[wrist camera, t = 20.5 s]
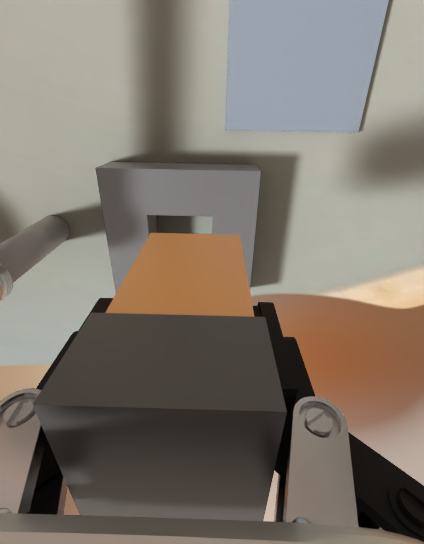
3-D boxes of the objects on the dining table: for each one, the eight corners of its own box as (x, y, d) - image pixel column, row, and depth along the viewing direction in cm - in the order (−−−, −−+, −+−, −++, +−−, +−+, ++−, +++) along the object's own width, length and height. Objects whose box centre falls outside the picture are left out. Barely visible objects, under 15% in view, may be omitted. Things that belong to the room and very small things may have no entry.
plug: (245, 230, 14) (286, 411, 6) (239, 311, 17) (261, 527, 8) (145, 227, 14) (32, 404, 6) (153, 309, 17) (83, 521, 8)
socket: (255, 164, 28) (274, 187, 19) (244, 288, 35) (255, 350, 25) (23, 159, 28) (-73, 180, 19) (56, 284, 35) (-2, 345, 25)
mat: (397, -52, 21) (401, -56, 20) (356, 132, 27) (358, 132, 26) (232, -55, 21) (232, -59, 21) (225, 129, 27) (225, 129, 26)
